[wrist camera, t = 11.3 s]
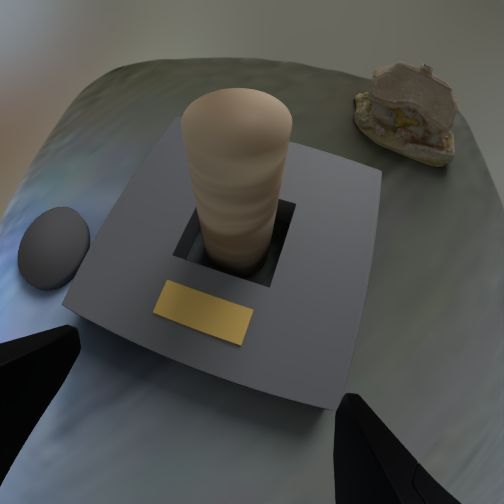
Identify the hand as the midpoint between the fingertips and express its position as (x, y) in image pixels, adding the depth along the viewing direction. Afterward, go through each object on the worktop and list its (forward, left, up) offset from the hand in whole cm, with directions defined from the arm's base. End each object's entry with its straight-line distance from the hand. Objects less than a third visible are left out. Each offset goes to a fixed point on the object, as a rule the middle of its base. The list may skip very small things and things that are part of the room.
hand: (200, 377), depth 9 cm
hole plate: (+10, +3, -12) cm, 16 cm away
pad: (+5, +19, -12) cm, 23 cm away
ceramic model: (+33, -11, -13) cm, 37 cm away
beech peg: (+10, +3, -12) cm, 16 cm away
